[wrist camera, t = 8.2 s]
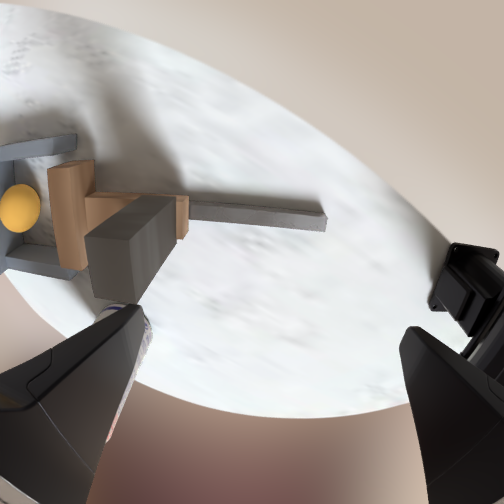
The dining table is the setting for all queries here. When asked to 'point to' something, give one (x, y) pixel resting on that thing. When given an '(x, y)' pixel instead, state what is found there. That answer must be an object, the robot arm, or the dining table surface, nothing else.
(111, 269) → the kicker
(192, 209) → the rail
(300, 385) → the dining table surface
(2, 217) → the ball
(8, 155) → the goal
